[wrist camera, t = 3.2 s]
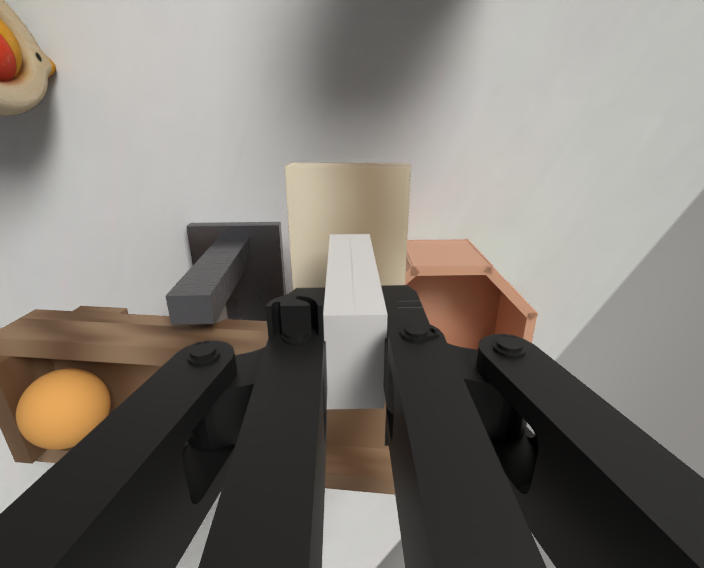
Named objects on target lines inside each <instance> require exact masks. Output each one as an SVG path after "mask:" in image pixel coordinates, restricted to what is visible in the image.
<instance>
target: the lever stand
mask: <svg viewBox="0 0 704 568" xmlns="http://www.w3.org/2000/svg"><path fill="white" fill-rule="evenodd" d="M187 232H188V238H189V244H190V250H191V256H192V262H193V266H192V267H191V268H190V270H189V271H188V272H187V273H186V274H185V275H184V276H183V277H182V278H181V279H180V281H179V282H178V283H177V284H176V285H175V286H174V287H173V288H172V289H171V291H170V292H169V293H168V294H167V295H166V300H167V305H168V310H169V315H170V320H171V325H182V324H214V323H215V321H216V320H217V318H218V316H219V314H220V313H221V311H222V309H223V307H224V306H225V305H226V309H227V316H228V319H232V320H251V321H267V317H266V307H265V306H266V305H267V304H268V303H269V301H271V300H273V299H275V298H277V297H281V296H284V295H286V290H285V276H284V263H283V249H282V236H281V222H239V223H190V224H189V225H188V226H187ZM222 489H223V488H222ZM220 492H222V490H221V491H220Z"/></svg>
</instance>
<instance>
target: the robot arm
mask: <svg viewBox="0 0 704 568" xmlns="http://www.w3.org/2000/svg"><path fill="white" fill-rule="evenodd" d="M265 307H266V317H267V328H268V341H267V344H266V346H265V347H263V348H261V349H259V350H256V351H252V352H248V353H243V354H238V355H235V352H234V348H233V347H232V346H231V345H230V344H229V343H226V342H222V341H211V340H206V341H203V342H202V341H200V342H196V343H194V344H192V345H189V346H186V347H185V348H183V349H182V350H180V351H179V352H177V353H176V354H175V355H174V356H173V357H172V358H171V359H169V360H168V361H167V362H166V363H165V364H164V365H163V366H162V367H161V368H160V369H159V370H157V371H156V372H155V373H154V374H153V375H152V376H151V377H150V378H149V379H148V380H146V381H145V382H144V383H143V384H142V385H141V386H140V387H139V388H138V389H137V390H136V391H134V392H133V393H132V394H131V395H130V396H129V397H128V398H127V399H126V400H125V401H123V402H122V403H121V404H120V405H119V406H118V407H117V408H116V409H115V410H114V411H112V412H111V413H110V414H109V415H108V416H107V417H106V418H105V419H104V420H103V421H102V422H100V423H99V424H98V425H97V426H96V427H95V428H94V429H93V430H92V431H91V432H89V433H88V434H87V435H86V436H85V437H84V438H83V439H82V440H81V441H80V442H79V443H77V444H76V445H75V446H74V447H73V448H72V449H71V450H70V451H69V452H68V453H66V454H65V455H64V456H63V457H62V458H61V459H60V460H59V461H58V462H57V463H56V464H54V465H53V466H52V467H51V468H50V469H49V470H48V471H47V472H46V473H45V474H43V475H42V476H41V477H40V478H39V479H38V480H37V481H36V482H35V483H34V484H33V485H31V486H30V487H29V488H28V489H27V490H26V491H25V492H24V493H23V494H22V495H20V496H19V497H18V498H17V499H16V500H15V501H14V502H13V503H12V504H11V505H10V506H8V507H7V508H6V509H5V510H4V511H3V512H2V513H1V514H0V568H176V566H177V564H178V562H179V561H180V559H181V557H182V556H183V554H184V552H185V551H186V549H187V547H188V546H189V544H190V542H191V541H192V539H193V537H194V535H195V534H196V532H197V530H198V529H199V527H200V525H201V524H202V522H203V520H204V519H205V517H206V515H207V513H208V512H209V510H210V508H211V507H212V505H213V503H214V502H215V500H216V498H217V497H218V495H219V493H220V491H221V490H222V492H221V495H220V498H219V502H218V505H217V508H216V512H215V515H214V518H213V521H212V525H211V528H210V531H209V535H208V538H207V541H206V544H205V548H204V551H203V554H202V558H201V561H200V564H199V567H198V568H322V546H323V520H324V494H325V468H326V442H327V409H376V408H384V404H385V401H386V420H385V446H389V452H390V459H391V466H392V474H393V481H394V488H395V496H396V503H397V510H398V518H399V525H400V532H401V540H402V547H403V554H404V562H405V568H546V565H545V563H544V561H543V559H542V556H541V554H540V552H539V549H538V547H537V545H536V543H535V540H534V538H533V536H532V534H533V535H534V537H535V538H536V539H537V541H538V542H539V544H540V545H541V547H542V548H543V550H544V551H545V552H546V554H547V555H548V557H549V558H550V559H551V561H552V562H553V564H554V565H555V567H556V568H704V478H702V477H701V476H700V475H699V474H697V473H696V472H695V471H694V470H692V469H691V468H690V467H688V466H687V465H686V464H685V463H683V462H682V461H681V460H680V459H678V458H677V457H676V456H675V455H673V454H672V453H671V452H669V451H668V450H667V449H666V448H664V447H663V446H662V445H661V444H659V443H658V442H657V441H656V440H654V439H653V438H652V437H650V436H649V435H648V434H647V433H645V432H644V431H643V430H642V429H640V428H639V427H638V426H636V425H635V424H634V423H633V422H632V421H630V420H629V419H628V418H626V417H625V416H624V415H622V414H621V413H620V412H619V411H618V410H616V409H615V408H614V407H612V406H611V405H610V404H609V403H607V402H606V401H605V400H604V399H602V398H601V397H600V396H599V395H597V394H596V393H595V392H594V391H592V390H591V389H590V388H588V387H587V386H586V385H585V384H583V383H582V382H581V381H580V380H578V379H577V378H576V377H575V376H573V375H572V374H571V373H569V372H568V371H567V370H566V369H564V368H563V367H562V366H561V365H559V364H558V363H557V362H556V361H554V360H553V359H552V358H551V357H549V356H548V355H547V354H545V353H544V352H543V351H542V350H540V349H539V348H538V347H537V346H535V345H534V344H532V343H531V342H529V341H527V340H525V339H523V338H520V337H517V336H515V335H510V334H509V335H508V334H492V335H489V336H486V337H484V338H482V339H481V340H480V341H479V347H478V350H476V349H470V348H464V347H459V346H455V345H452V344H449V343H447V341H446V339H445V336H444V334H443V333H442V332H441V331H440V329H438V328H436V327H435V326H433V325H430V323H429V321H428V318H427V316H426V313H425V311H424V308H423V306H422V303H421V301H420V298H419V296H418V294H417V292H416V291H415V290H414V289H412V288H411V287H409V286H408V285H381V283H380V279H379V274H378V270H377V265H376V261H375V256H374V252H373V247H372V243H371V238H370V234H330V239H329V251H328V263H327V275H326V287H321V288H296V289H294V290H293V291H292V292H291V293H289V294H288V295H284V296H281V297H277V298H275V299H273V300H271V301H269V303H268V304H267V305H266V306H265ZM527 423H528V424H529V425H530V426H531V427H532V429H533V430H534V433H535V434H533V433H532V432H531V431H530V430H529V429H528V428H527V427H526V425H527ZM222 488H223V489H222ZM531 533H532V534H531Z"/></svg>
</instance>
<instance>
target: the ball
mask: <svg viewBox="0 0 704 568" xmlns="http://www.w3.org/2000/svg"><path fill="white" fill-rule="evenodd" d="M110 406H111V399H110V394H109V391H108V388H107V387H106V385H105V384H104V382H103V381H102V380H101V379H100V378H99V377H98V376H96V375H95V374H93V373H91V372H88V371H86V370H82V369H76V368H66V369H60V370H55V371H52V372H50V373H47V374H45V375H43V376H41V377H40V378H38V379H37V380H35V381H34V382H33V383H32V384H31V385H30V386H29V387H28V388H27V389H26V390H25V391H24V393H23V394H22V396H21V398H20V400H19V402H18V405H17V409H16V422H17V426H18V429H19V431H20V432H21V434H22V435H23V436H24V438H25V439H26V440H28V441H29V442H30V443H32V444H34V445H35V446H38V447H41V448H44V449H51V450H61V449H67V448H71V447H74V446H75V445H76V444H77V443H79V442H80V441H81V440H82V439H83V438H84V437H85V436H86V435H87V434H88V433H89V432H91V431H92V430H93V429H94V428H95V427H96V426H97V425H98V424H99V423H100V422H102V421H103V420H104V419H105V418H106V417H107V416H108V415H109V411H110Z"/></svg>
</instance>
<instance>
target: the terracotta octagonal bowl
mask: <svg viewBox="0 0 704 568" xmlns="http://www.w3.org/2000/svg"><path fill="white" fill-rule="evenodd" d="M405 285H408V286H409V287H411V288H412V289H414V290H415V291H416V292H417V294H418V296H419V298H420V301H421V303H422V306H423V308H424V311H425V313H426V316H427V318H428V321H429V323H430V325H433V326H435V327H436V328H438V329H440V331H441V332H442V333H443V334H444V336H445V339H446V341H447V343H449V344H452V345H455V346H459V347H464V348H470V349H476V350H478V347H479V341H480V340H481V339H482V338H484V337H486V336H489V335H492V334H508V335H509V334H510V335H515V336H517V337H520V338H523V339H525V340H527V341H529V342H531V343H532V339H533V333H534V328H535V323H536V318H537V312H536V311H535V310H534V309H533V308H532V307H531V306H530V305H529V304H528V303H527V302H526V300H525V299H524V298H523V297H522V296H521V295H520V294H519V293H518V292H517V291H516V290H515V289H514V288H513V287H512V286H511V285H510V284H509V282H508V281H506V280H505V279H504V278H503V277H502V276H501V275H500V274H499V273H498V272H497V271H496V270H495V269H494V268H493V265H492V264H491V263H490V262H489V261H488V260H487V259H486V258H485V257H484V255H483V254H482V253H481V252H480V251H479V250H478V249H477V248H476V247H475V246H474V245H473V244H472V243H471V242H470V241H469V240H467V239H466V240H407V253H406V272H405Z"/></svg>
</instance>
